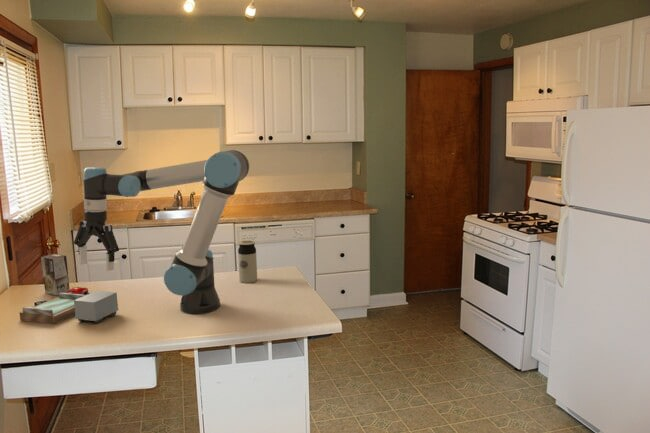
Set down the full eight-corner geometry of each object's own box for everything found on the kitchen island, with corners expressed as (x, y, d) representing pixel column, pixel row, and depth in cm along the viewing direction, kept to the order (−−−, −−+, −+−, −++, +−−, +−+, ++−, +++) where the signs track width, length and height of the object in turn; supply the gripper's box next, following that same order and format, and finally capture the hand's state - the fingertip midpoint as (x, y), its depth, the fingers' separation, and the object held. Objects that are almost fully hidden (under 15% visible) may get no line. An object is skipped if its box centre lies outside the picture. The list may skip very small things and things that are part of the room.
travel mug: (248, 277, 256) (246, 239, 253) (260, 280, 251) (259, 241, 248) (235, 281, 249) (234, 242, 246) (248, 284, 245) (247, 244, 242)
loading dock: (91, 307, 218) (90, 295, 217) (54, 324, 200) (53, 311, 199) (59, 303, 223) (58, 292, 222) (20, 320, 205) (18, 307, 204)
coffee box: (70, 291, 239) (67, 255, 236) (56, 295, 234) (52, 258, 231) (58, 288, 244) (54, 253, 241) (44, 292, 238) (40, 256, 236)
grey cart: (118, 313, 210) (116, 292, 208) (96, 325, 199) (94, 302, 197) (99, 311, 213) (97, 290, 211) (76, 322, 201) (73, 300, 200)
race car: (68, 303, 224) (67, 294, 223) (57, 302, 225) (56, 293, 225) (91, 293, 236) (90, 284, 236) (80, 293, 238) (79, 284, 237)
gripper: (62, 207, 201) (64, 263, 205) (112, 216, 191) (113, 275, 195) (79, 204, 208) (81, 259, 212) (129, 213, 197) (129, 270, 201)
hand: (96, 267), depth 203 cm, fingers open, 13 cm apart
